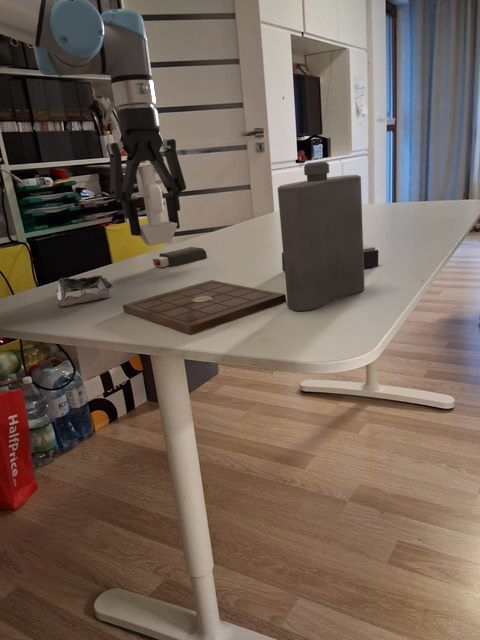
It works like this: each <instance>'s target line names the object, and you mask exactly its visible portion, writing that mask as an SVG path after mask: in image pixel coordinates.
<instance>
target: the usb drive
mask: <svg viewBox="0 0 480 640" xmlns="http://www.w3.org/2000/svg"><path fill="white" fill-rule="evenodd" d="M158 255H159V256H157V257H153V258H152V262H153V263H152V264H153V266H154V267H157V268H165V267H168V268H169V267H170V268H171V267H177V266H180V265H181V266H182V265H184V264H189V263H192V262H193V263H194V262H196V261H200V260H205V259H207V258H208V255H207V250H206V249H204V248H203V247H195V246H189V247H185V248H179V249H176V250H173V251H167V252H164V253H161V252H160V253H159V254H158Z"/></svg>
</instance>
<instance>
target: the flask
mask: <svg viewBox="0 0 480 640" xmlns="http://www.w3.org/2000/svg"><path fill="white" fill-rule="evenodd" d="M303 173H304V174H303V175H304V176H306V180H303V181H296V182H292V183H291V182H290V183H286V184H282V185H279V186H278V187H277V199H278V210H279V220H280V231H281V232H280V233H281V242H282V243H281V245H282V253H283V256H284V268H285V271H284V278H285V287H286V288H285V290H286V302H287V307H288V309H290V310H292V311H294V312H295V311H296V312H308V311H312V310H316V309H318V308H319V307H322V306H324V305H326V304H328V303H330V302H333V301H336V300H338V299H341V298H344V297H348V296H351V295H355V294H359V293H361V292H363V291H364V290H365V268H364V257H363V245H364V234H363V233H364V232H363V231H364V229H363V201H362V200H363V199H362V198H363V197H362V176H361V175H359V174H346V175H337V176H336V175H335V176H328V174H329V173H330V163H329V162H327V161H315V162H306V164H304V166H303Z"/></svg>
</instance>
